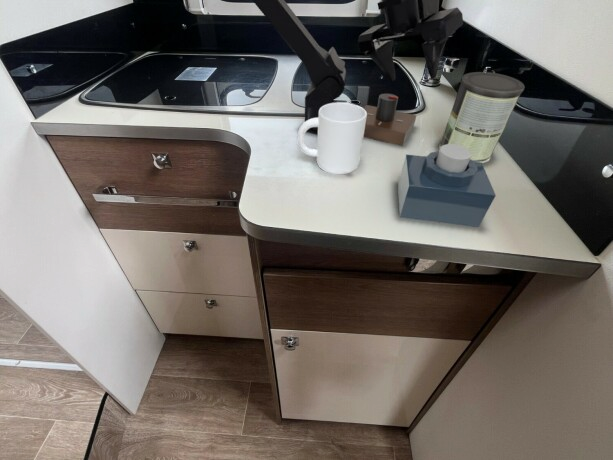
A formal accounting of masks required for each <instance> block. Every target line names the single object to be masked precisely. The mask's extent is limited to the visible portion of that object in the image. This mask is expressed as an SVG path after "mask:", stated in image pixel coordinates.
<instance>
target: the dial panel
mask: <svg viewBox="0 0 613 460" xmlns="http://www.w3.org/2000/svg"><path fill="white" fill-rule="evenodd" d="M362 108H363V109H365V111H366V112H367V117H366V124H365V130H364V136H363V138H367V139H371V140H375V141H379V142H384V143H387V144H392V145H396V146H399V147H400V146H401V147H403V146H404V144H405V143H406V141H407V139H408V138H409V136H410V134H411V132H413V130H414V126H415V123H416V119H417V114H411V113H408V112H402V111H397V110H396V111H395V115H394V119H393V120H392V121H387V122H386V121H380V120H378V119H376V111H377V106H374V105H369V104H365V105H364V107H362Z"/></svg>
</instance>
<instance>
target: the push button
mask: <svg viewBox="0 0 613 460" xmlns="http://www.w3.org/2000/svg"><path fill="white" fill-rule="evenodd" d="M438 151H439V153H438V156H437V159H436V165H437V166H438V167H440V168H441V169H444V170H446V171H449V172H457V173H459V172H464V171H465V170H466V168H467V165H468V163H469V161H470V158H471V156H472V153H471V152H470V150H468V149H467V148H465V147H463V146H460V145H455V144H446V145H443V146H441V148H440V150H439V149H438Z"/></svg>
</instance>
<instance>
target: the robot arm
mask: <svg viewBox="0 0 613 460" xmlns="http://www.w3.org/2000/svg"><path fill="white" fill-rule="evenodd" d="M251 1H252V2H253V3H254V4H255V6H256V7H257V8H258V9H259V11H260V12H261V13H262V14H263V16H264V17H265V19H267V20H268V22H269V23H270V24H271V25H272V26H273V28H274V29H275V30H276V32H277V33H278V34H279V36H280V37H281V38H282V39H283V40H284V41H285V43H286V44H287V45H288V46H289V48H290V49H291V50H292V51H293V53H294V54H295V55H296V57H297V58H298V59H299V60H300V61H301V62H302V64H303V66H304V68H305V70H306V73H307V76H308V78H309V80H310V84H309V87H308V90H307V92H306V95H305V97H304V122H305V121H307V120H309V119H312V118H318V117H319V109H320V108H321V107H322V106H324V105H326V104H330V103H338V100H337V99H338V98H340V96H341V95H342V94H343V92H344V90H345V88H346V87H345V86H346V81H347V69H346V67H345V65H346V62H345V61H344V60H343V59H341V58H340V56H339V55H338V53H337V51H336V49H335V47H334V46H332V47H330V49H329V51H327V50H326V49H325V48H323V47H321V46H320V45H319V44H318V43H317V41H316V40H315V39H314V37H313V35H311V33H310V32H309V31H308V29H307V28H306V26H305V25H304V24H303V22H302V21H301V20H300V19H299V18H298V17H297V15H296V13H294V11H293V10H292V9H291V7H290V6H289V4H288V3H287V2H286V1H285V0H251ZM376 5H377V8H378V10H383V13H384V18H385V23H382V24H378V25H373V26H372V27H370V28H369V29H367V30H365V31H364V32H362V33H361V34H360V35H359V36H358V40H357V45H358V46H357V47H358V50H359V53H363V52H364V55H365V56H366V57H367V56H368V57H369V58H370V60H372V61H373V62H374V63H375V64H376V65H377V66H378V68H379V69H380V70H381V71H382V73H384V75H385V76H386V77H387V79H389V81H390V82H394V81H395V80H396V68H395V62H394V58H393V52H392V50H393V45H394V40H398V39H405V38H410V37H417V36H421V38H422V40H424V41H425V42H424V43H422V44H421V47H422V51H423V55H424V60H425V64H426V68H427V71H428V75H429V76H430V79H431V80H434V79H436V78H437V74H438V70H439V67H440V62H441V58H442V52H443V50H444V46H445V45H446V42H447V40H448V39H449V38H450V37H451V36H452V35H454V34H455V33H456V31H457V30H458V29H459V28H461V27H462V26H463V25H464V19H463V12H462V11H461V10H460V8H458V7H453V8H449V9H443V10H440V11H439V9H440V8H439V7H440V6H439V5H440V0H380V1H378V2H377V3H376ZM427 18H428V19H427ZM425 19H426V20H425ZM423 20H424V21H423ZM306 133H311V134H315V135H318V127H312V128H309V129H308V130H307V131H306Z"/></svg>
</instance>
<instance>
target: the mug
mask: <svg viewBox="0 0 613 460" xmlns="http://www.w3.org/2000/svg"><path fill="white" fill-rule="evenodd" d="M363 108H364V107H362V106H360V105H358V104H354V103H350V102H337V103H330V104H326V105H324V106H322V107H321V108H320V109H319V117H318V118H312V119H309V120H307V121H305V120H304V121H303V123H302V124H301V125H300V127H299V128H298V131H297V136H296V143H297V145H298V147H299V149H300V151H301V152H302V153H303V154H305V155H307V156H310V157H314V158H315V157H316V163H317V165H318V167H319V168H320V169H321V170H322V171H324V172H325V173H329V174H331V175H347V174H351V173H352V172H354V171H355V170H357V169H358V167H359V165H360V162H361V157H362V156H361V155H362V148H363V143H364V141H363V140H364V137H363V136H364V130H365V124H366V117H367V112H366V111H365V109H363ZM312 127H318V134H317V139H316V148H313V147H312V148H311V147H309V146H307V144H306V142H305V141H306V140H305V135H306V133H307V130H308V129H309V128H312Z"/></svg>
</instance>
